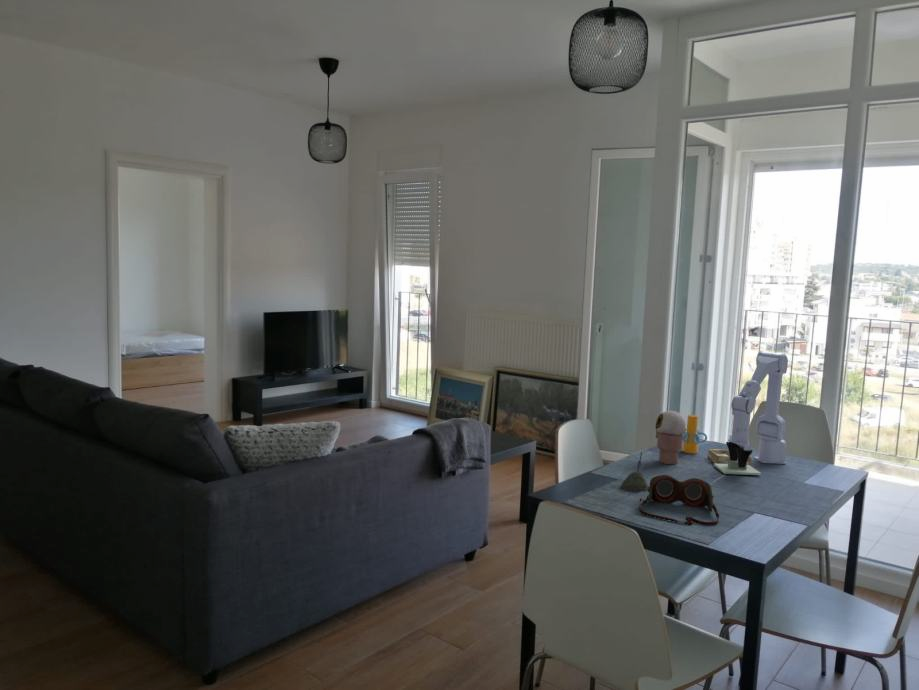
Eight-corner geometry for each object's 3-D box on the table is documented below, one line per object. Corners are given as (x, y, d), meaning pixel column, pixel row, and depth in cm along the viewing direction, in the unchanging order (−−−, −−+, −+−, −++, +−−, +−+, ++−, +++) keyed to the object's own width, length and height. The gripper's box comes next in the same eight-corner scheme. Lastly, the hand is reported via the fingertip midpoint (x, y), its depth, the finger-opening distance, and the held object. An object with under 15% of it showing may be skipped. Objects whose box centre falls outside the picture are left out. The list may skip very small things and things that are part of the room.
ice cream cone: (647, 458, 276) (651, 408, 274) (671, 457, 280) (676, 407, 277) (663, 466, 266) (667, 414, 264) (688, 465, 270) (692, 413, 267)
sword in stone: (637, 494, 233) (638, 458, 232) (616, 489, 238) (618, 454, 237) (653, 488, 240) (655, 453, 239) (633, 483, 245) (634, 449, 244)
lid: (748, 469, 270) (750, 458, 269) (760, 477, 259) (761, 466, 259) (713, 467, 269) (714, 456, 269) (723, 475, 259) (724, 464, 259)
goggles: (646, 523, 206) (650, 490, 205) (625, 498, 229) (628, 467, 228) (729, 529, 207) (733, 495, 206) (699, 503, 230) (703, 473, 229)
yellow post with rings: (670, 447, 295) (673, 412, 293) (694, 447, 297) (697, 412, 295) (685, 456, 283) (688, 419, 281) (709, 455, 285) (712, 419, 283)
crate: (740, 459, 282) (741, 450, 282) (750, 466, 272) (751, 457, 272) (707, 457, 282) (708, 449, 282) (716, 464, 272) (717, 455, 272)
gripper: (722, 423, 269) (719, 458, 271) (737, 432, 255) (734, 469, 257) (741, 424, 270) (737, 459, 271) (757, 433, 255) (753, 470, 257)
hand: (737, 464), depth 264 cm, fingers open, 7 cm apart
